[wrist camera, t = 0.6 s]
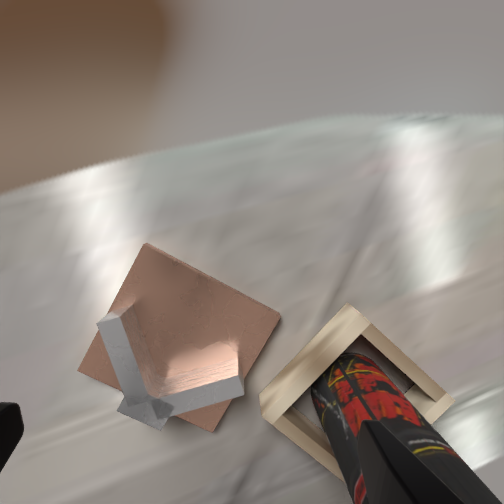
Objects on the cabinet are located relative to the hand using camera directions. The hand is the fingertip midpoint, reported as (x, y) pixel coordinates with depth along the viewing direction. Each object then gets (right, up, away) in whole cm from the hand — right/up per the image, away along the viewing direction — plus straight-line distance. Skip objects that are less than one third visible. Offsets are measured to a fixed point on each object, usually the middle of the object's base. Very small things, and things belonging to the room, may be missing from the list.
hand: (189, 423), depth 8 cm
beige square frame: (+9, -6, +16) cm, 20 cm away
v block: (-4, -2, +15) cm, 15 cm away
